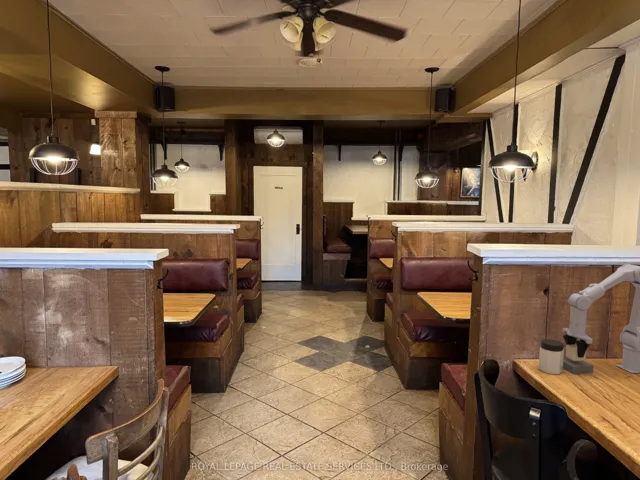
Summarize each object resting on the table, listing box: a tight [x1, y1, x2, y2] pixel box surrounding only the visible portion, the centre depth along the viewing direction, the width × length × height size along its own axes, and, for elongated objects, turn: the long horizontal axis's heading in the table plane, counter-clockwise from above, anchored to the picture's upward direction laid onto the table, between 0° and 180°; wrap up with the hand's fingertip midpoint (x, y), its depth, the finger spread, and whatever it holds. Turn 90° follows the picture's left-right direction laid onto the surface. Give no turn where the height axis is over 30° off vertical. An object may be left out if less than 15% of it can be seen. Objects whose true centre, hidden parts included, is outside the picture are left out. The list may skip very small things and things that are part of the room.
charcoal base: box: [563, 357, 594, 375], centre depth 174 cm, size 9×9×4 cm
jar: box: [538, 338, 565, 375], centre depth 173 cm, size 9×8×12 cm
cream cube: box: [565, 344, 587, 361], centre depth 174 cm, size 5×5×5 cm
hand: (575, 354), depth 174 cm, fingers closed on cream cube, 5 cm apart
